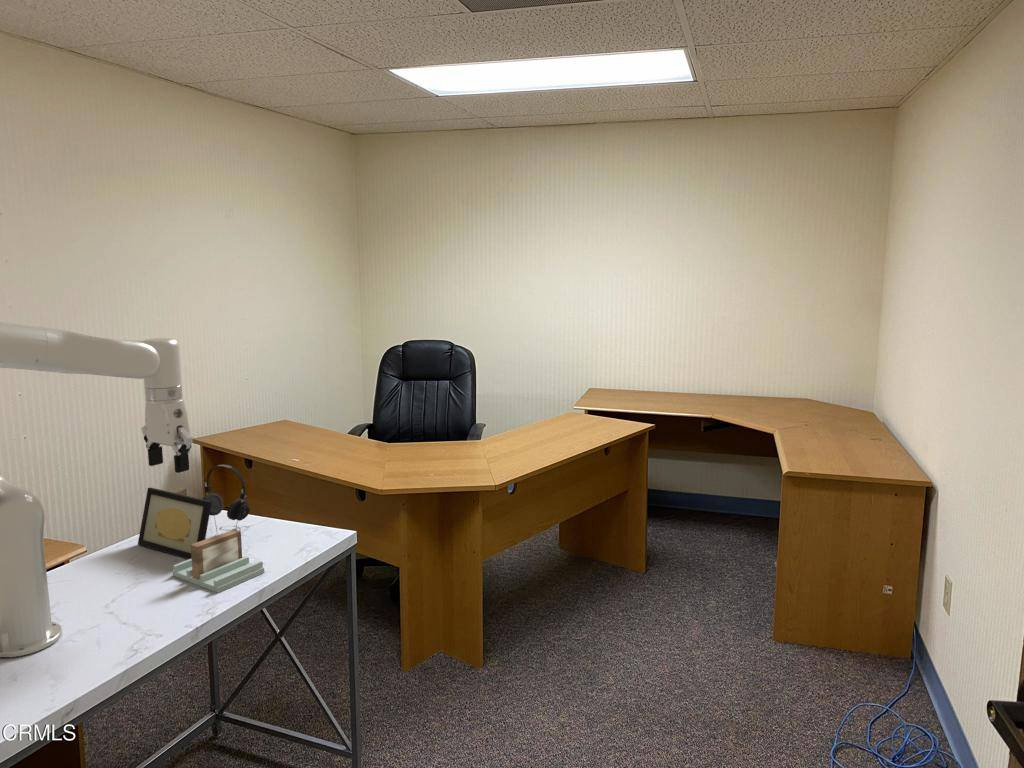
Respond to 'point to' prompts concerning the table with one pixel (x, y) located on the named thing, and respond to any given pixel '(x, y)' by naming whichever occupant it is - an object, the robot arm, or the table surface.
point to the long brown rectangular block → (215, 552)
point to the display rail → (220, 574)
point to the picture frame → (173, 522)
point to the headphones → (239, 506)
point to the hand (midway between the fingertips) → (169, 467)
